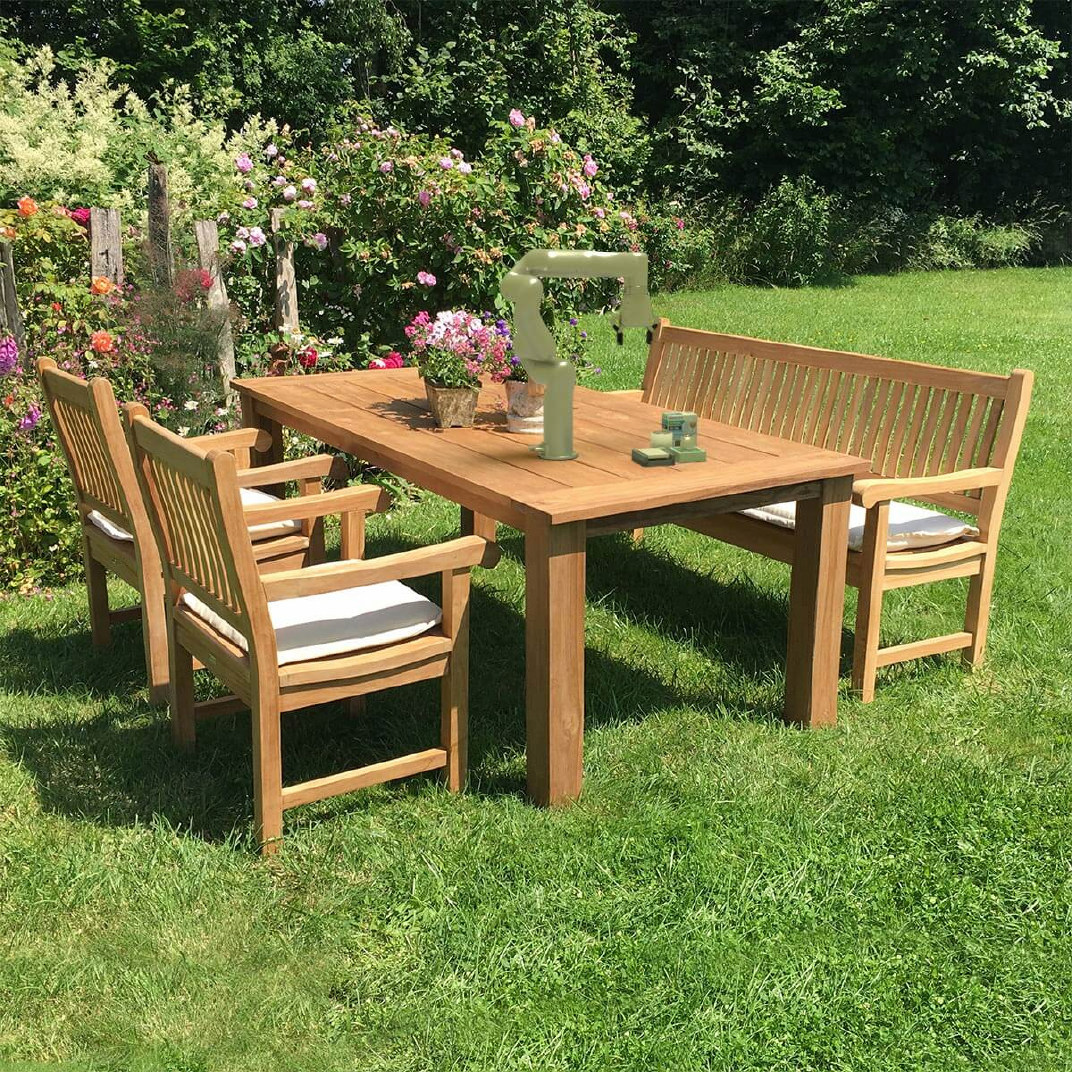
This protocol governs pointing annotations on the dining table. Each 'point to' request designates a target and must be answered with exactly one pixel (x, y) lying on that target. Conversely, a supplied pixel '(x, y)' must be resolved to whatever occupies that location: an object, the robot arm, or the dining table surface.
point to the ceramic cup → (661, 439)
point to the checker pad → (653, 453)
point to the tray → (688, 455)
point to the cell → (687, 443)
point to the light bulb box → (680, 425)
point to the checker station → (653, 459)
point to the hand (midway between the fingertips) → (634, 344)
